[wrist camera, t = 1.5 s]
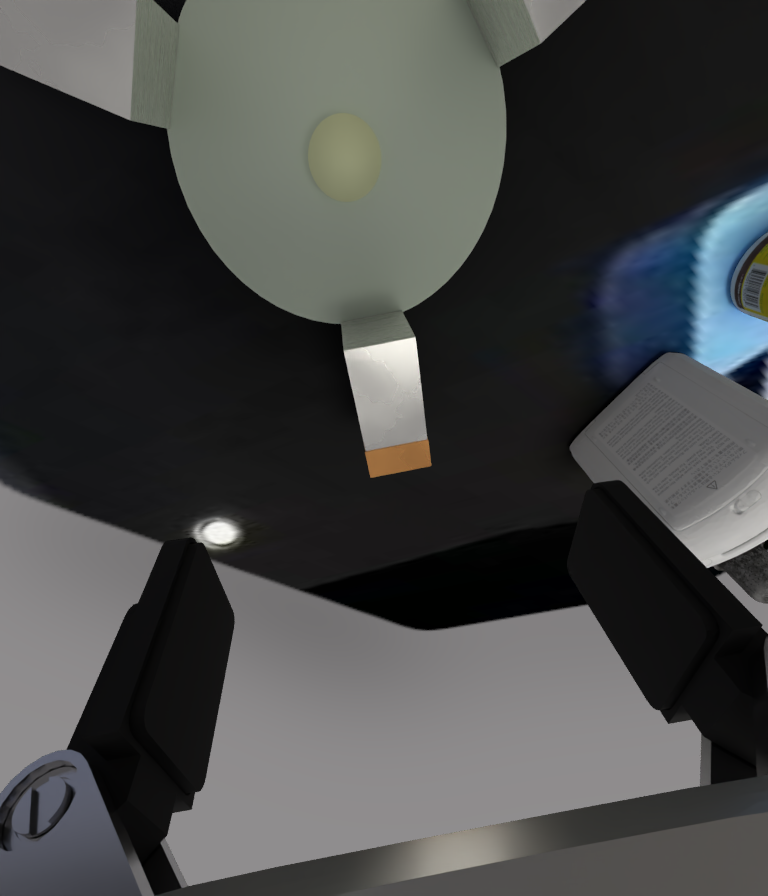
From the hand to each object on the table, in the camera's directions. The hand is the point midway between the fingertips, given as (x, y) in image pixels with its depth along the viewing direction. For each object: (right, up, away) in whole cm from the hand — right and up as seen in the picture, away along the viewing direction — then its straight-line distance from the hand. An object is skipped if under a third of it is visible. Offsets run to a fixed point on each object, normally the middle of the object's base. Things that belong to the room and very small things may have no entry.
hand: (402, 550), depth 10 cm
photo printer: (+18, +5, +21) cm, 28 cm away
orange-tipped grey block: (-1, +8, +16) cm, 18 cm away
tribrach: (-3, +15, +11) cm, 19 cm away
